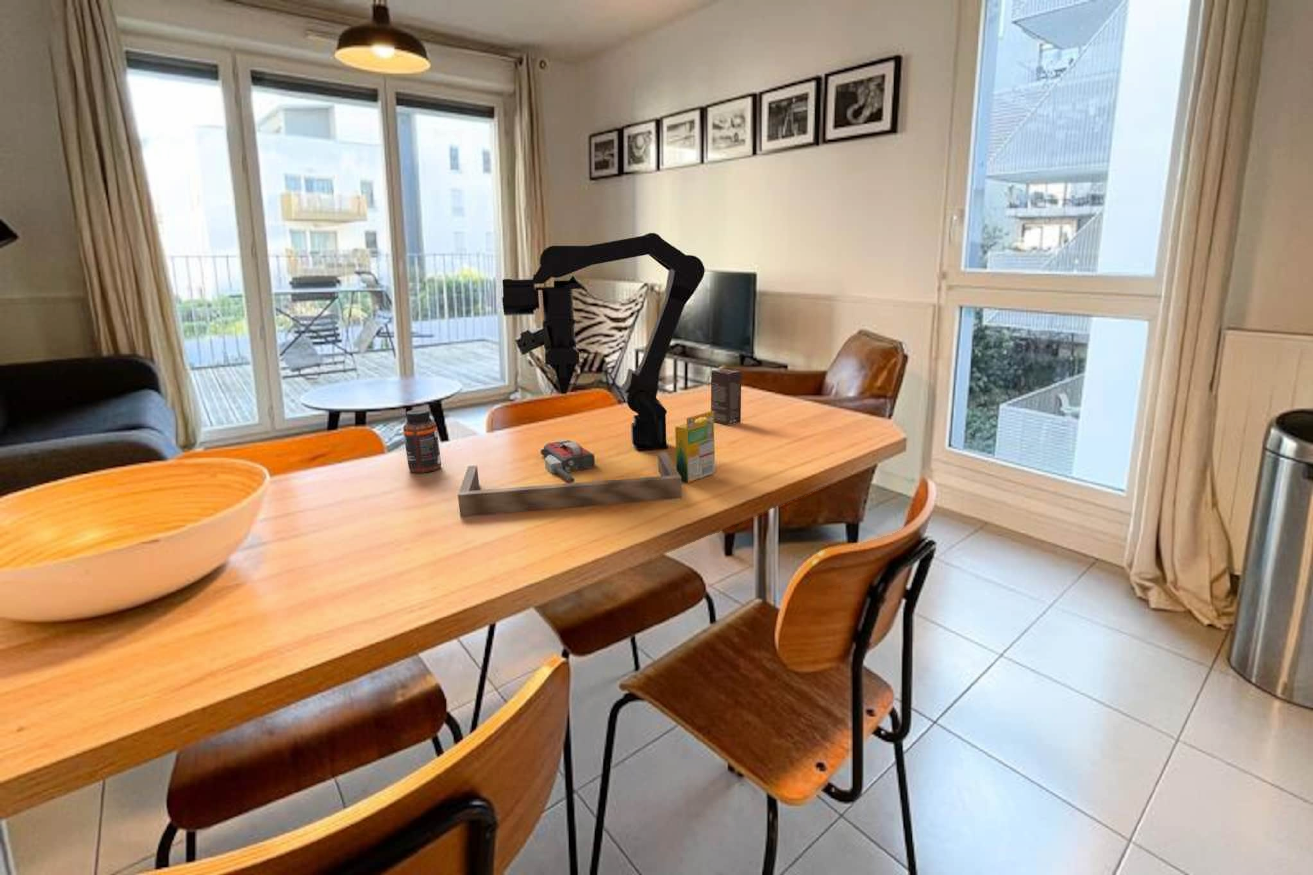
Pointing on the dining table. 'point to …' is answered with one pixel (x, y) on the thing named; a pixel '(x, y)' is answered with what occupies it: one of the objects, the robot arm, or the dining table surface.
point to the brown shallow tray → (569, 492)
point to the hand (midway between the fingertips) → (563, 393)
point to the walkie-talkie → (566, 458)
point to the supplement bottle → (421, 442)
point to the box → (726, 396)
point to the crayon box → (695, 447)
